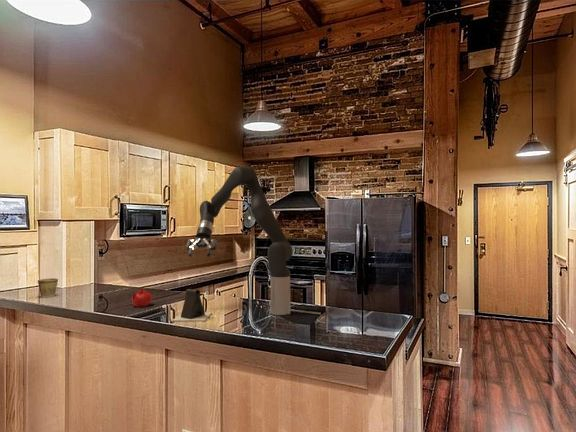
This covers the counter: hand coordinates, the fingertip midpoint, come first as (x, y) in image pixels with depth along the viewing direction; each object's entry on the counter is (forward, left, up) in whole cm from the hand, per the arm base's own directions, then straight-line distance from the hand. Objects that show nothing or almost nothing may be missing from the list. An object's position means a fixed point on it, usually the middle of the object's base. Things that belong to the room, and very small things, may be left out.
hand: (199, 255), depth 184 cm
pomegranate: (+33, -13, -27) cm, 45 cm away
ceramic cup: (+98, -39, -27) cm, 109 cm away
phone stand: (0, +12, -26) cm, 29 cm away
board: (0, +12, -27) cm, 29 cm away
